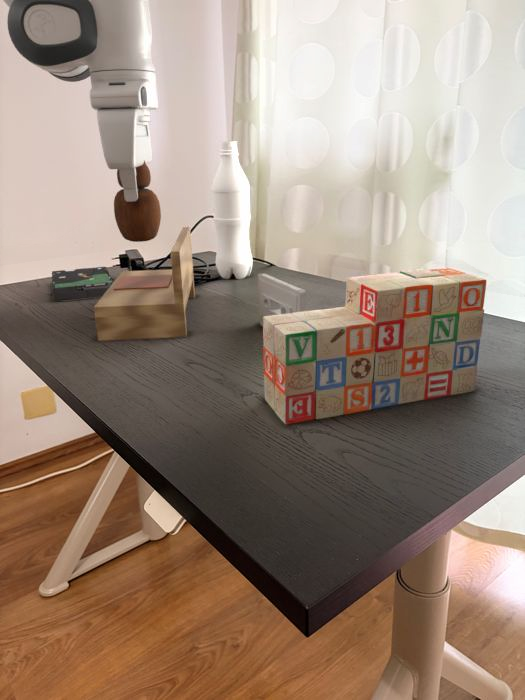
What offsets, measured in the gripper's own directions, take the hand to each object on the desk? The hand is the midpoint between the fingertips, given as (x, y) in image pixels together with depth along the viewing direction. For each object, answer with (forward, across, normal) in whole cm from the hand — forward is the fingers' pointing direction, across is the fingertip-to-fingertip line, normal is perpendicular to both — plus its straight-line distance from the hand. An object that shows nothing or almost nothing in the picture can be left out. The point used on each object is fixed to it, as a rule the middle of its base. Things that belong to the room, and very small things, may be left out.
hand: (135, 198), depth 86 cm
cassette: (+18, +14, +20) cm, 30 cm away
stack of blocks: (+18, +35, +28) cm, 48 cm away
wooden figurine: (+6, 0, 0) cm, 6 cm away
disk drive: (+18, -17, -14) cm, 28 cm away
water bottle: (+18, -23, +14) cm, 32 cm away
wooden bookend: (+18, +2, +1) cm, 18 cm away
